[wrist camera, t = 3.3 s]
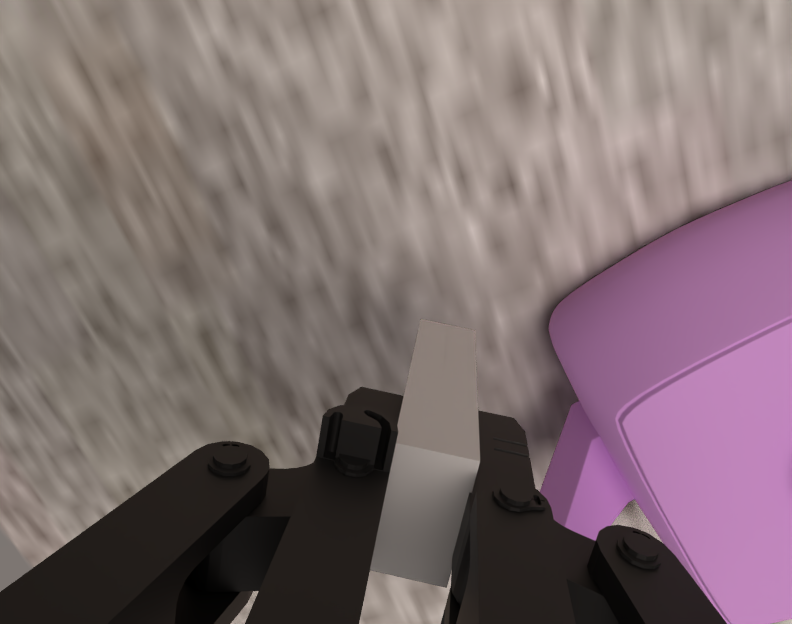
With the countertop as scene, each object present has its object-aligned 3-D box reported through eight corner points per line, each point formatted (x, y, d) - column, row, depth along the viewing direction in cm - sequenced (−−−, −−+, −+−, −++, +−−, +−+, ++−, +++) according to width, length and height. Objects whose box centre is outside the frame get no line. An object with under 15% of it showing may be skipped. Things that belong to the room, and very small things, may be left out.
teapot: (561, 530, 27) (616, 765, 18) (443, 336, 25) (433, 486, 15) (1007, 349, 23) (1404, 531, 13) (916, 91, 20) (1322, 84, 11)
